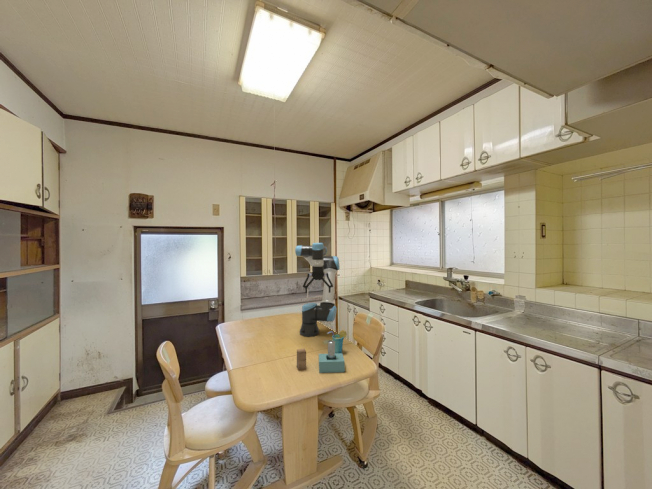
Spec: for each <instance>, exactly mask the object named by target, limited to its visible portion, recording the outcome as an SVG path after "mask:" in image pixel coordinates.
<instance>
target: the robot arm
mask: <svg viewBox="0 0 652 489" xmlns="http://www.w3.org/2000/svg"><path fill="white" fill-rule="evenodd" d="M294 250H295V256H296V257H302V258H304V259H305V260H306V261H307V262H308V264H309V265H310V266H311V267H312V268H311V269H312V271H311V273H310V272H307V276H306V279H305V280H304V282H303V285H302V288H304V289H305V290H304V291H305V294H306V297H307V299H309V287H310V285H311V284H312V283H313V282H314V281H321V280H322V281H323V289H322V290H323V291H322V300H321V301H320V304H318V303H317V302H309V303H305V304H303V305H302V308H301V326H300V329H299V335H300V336H302V337H309V338H310V337H315V336H318V335H319V334H320V329H319V326H318V322H334V321H335V319H336V315H337V309H338V308H337V306H336V304H335V302H334V297H335V294H334V293H335V285H336V284H335V283H336V282H335V281H336V275H337V273H338V271H340V260H339V257H338V256H335V255H327V253H328V248H327V246H325V245H324V243H323V242H313V243H312V245H302V244H301V245H296V246H295V248H294ZM311 277H312V278H311ZM309 278H311V279H310V280H309ZM308 281H309V282H308Z"/></svg>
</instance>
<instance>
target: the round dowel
mask: <svg viewBox="0 0 652 489" xmlns="http://www.w3.org/2000/svg"><path fill="white" fill-rule="evenodd" d="M327 354H328V360H335V341H333V339H331V340H328V341H327Z"/></svg>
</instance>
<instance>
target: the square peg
mask: <svg viewBox="0 0 652 489" xmlns="http://www.w3.org/2000/svg"><path fill="white" fill-rule="evenodd" d="M306 350H307V349H306V348H298V349H296V368H297V371H304V370H307V351H306Z"/></svg>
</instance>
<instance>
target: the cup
mask: <svg viewBox="0 0 652 489" xmlns="http://www.w3.org/2000/svg"><path fill="white" fill-rule="evenodd" d="M331 333H332V336H331V338H332V341H335V353H342V354H343V345H344V344H343V343H344V339H345V338H346V337H347V335H348V334H347V330H346V331H345V330H340V331H339V333H337V334H335V333H334V332H333V331H332V330H331V331H328V332H326V334H327V335H329V334H331Z"/></svg>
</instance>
